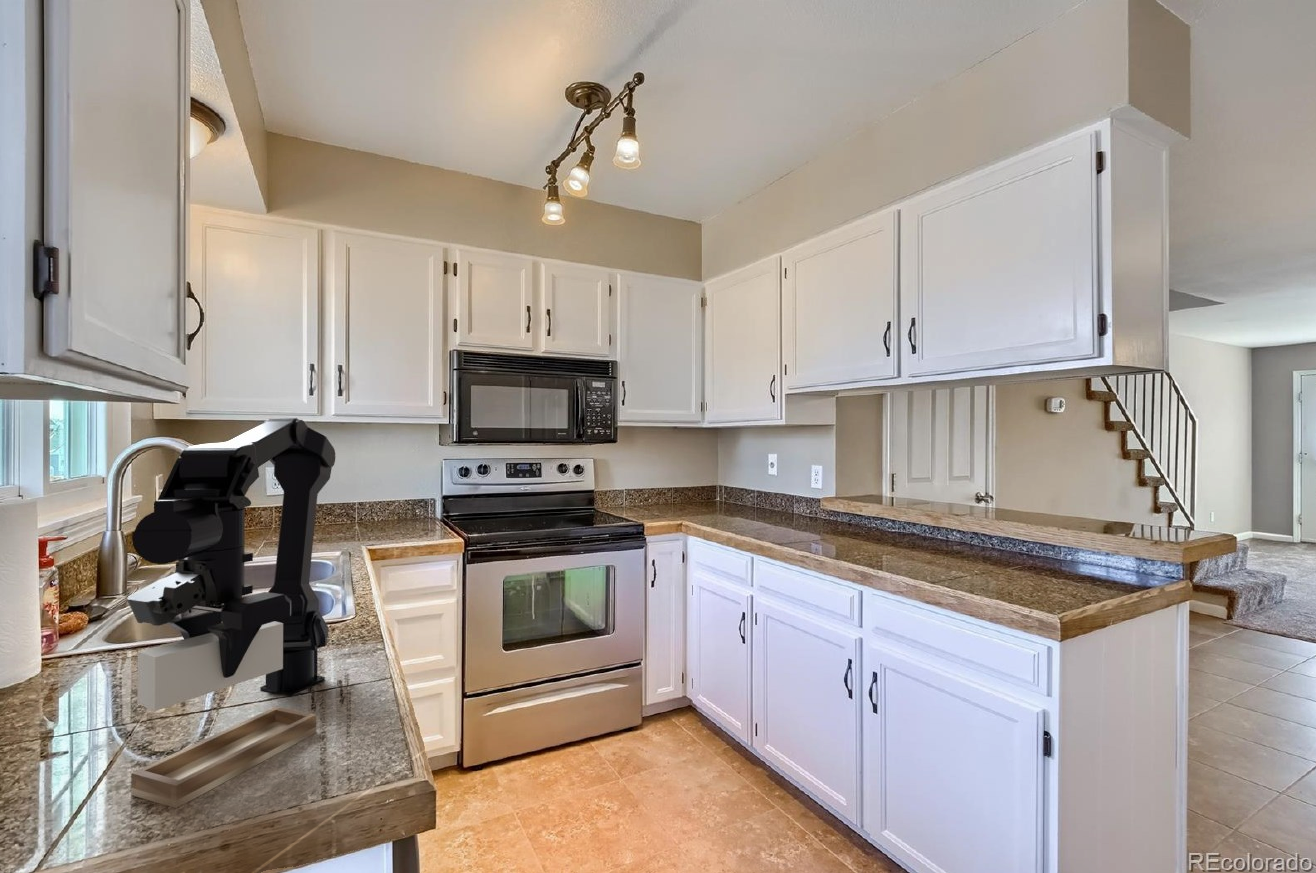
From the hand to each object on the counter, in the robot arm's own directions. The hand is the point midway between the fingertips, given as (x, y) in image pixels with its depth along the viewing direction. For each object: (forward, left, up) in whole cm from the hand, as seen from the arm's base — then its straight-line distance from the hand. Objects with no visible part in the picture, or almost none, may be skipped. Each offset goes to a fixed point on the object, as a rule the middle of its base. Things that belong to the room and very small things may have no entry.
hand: (215, 674), depth 74 cm
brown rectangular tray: (0, +3, -10) cm, 11 cm away
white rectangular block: (0, 0, -1) cm, 1 cm away
